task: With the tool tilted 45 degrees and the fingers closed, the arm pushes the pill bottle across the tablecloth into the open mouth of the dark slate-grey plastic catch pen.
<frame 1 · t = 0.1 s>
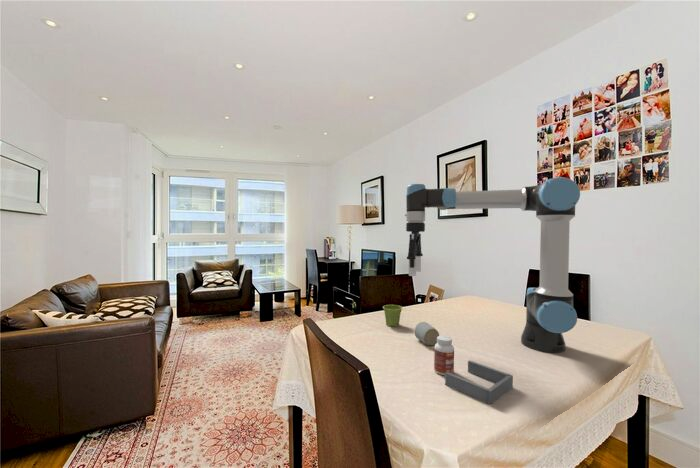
hand: (415, 273, 128), 28 cm above the table, tool pointing down, fingers open, 13 cm apart
plant pot: (392, 325, 149), on the table
ceramic mug: (429, 343, 126), on the table
catch pen: (477, 385, 92), on the table
pill bottle: (443, 372, 101), on the table
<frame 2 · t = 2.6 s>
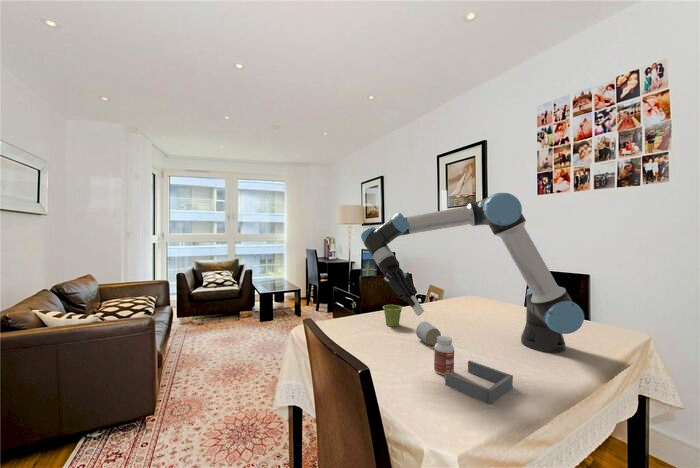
hand: (420, 313, 107), 17 cm above the table, tool tilted 45°, fingers closed
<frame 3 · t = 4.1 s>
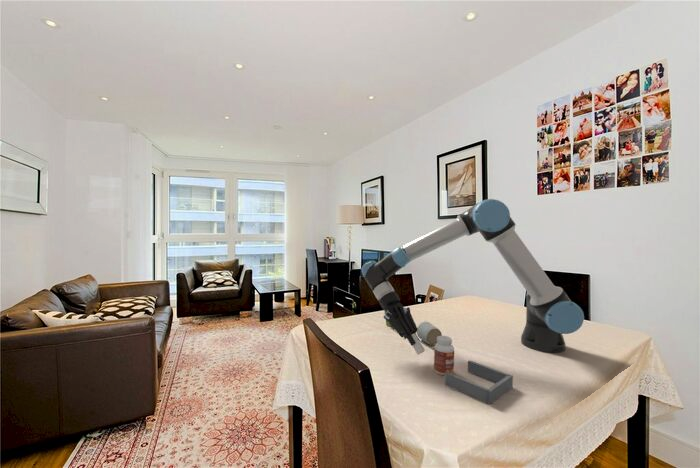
hand: (421, 352, 107), 4 cm above the table, tool tilted 45°, fingers closed
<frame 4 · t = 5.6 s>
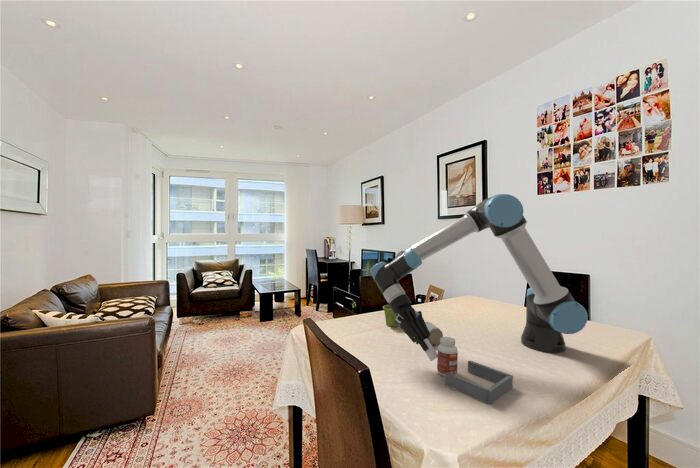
hand: (434, 358, 102), 4 cm above the table, tool tilted 45°, fingers closed
pill bottle: (447, 373, 100), on the table, touching gripper
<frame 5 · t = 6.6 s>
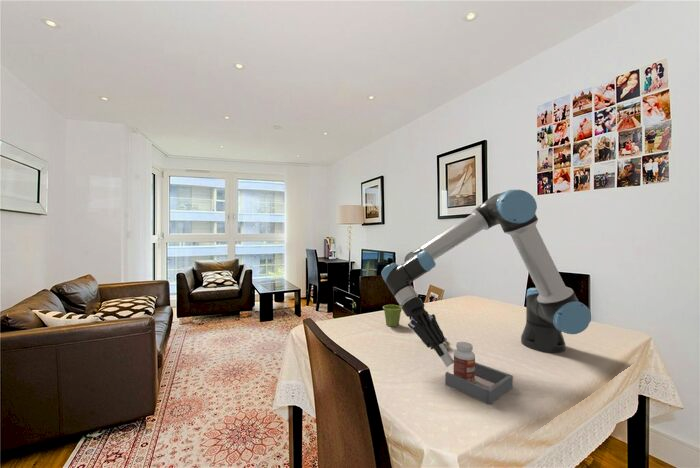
hand: (450, 364, 98), 4 cm above the table, tool tilted 45°, fingers closed
pill bottle: (463, 380, 95), on the table, touching gripper
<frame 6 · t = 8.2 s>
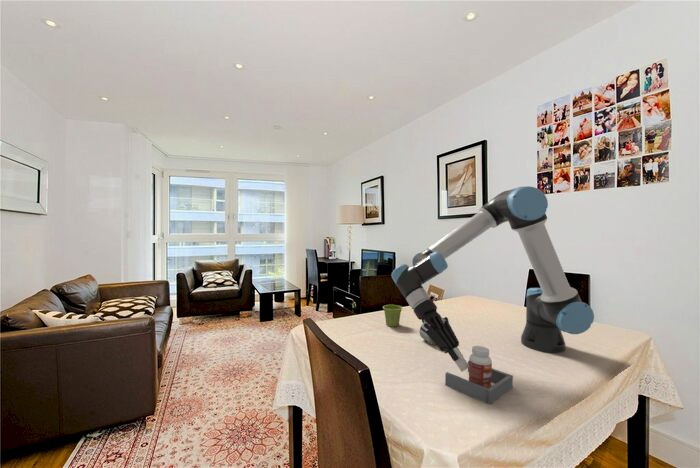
hand: (465, 369, 95), 4 cm above the table, tool tilted 45°, fingers closed
pill bottle: (479, 386, 92), on the table, touching gripper
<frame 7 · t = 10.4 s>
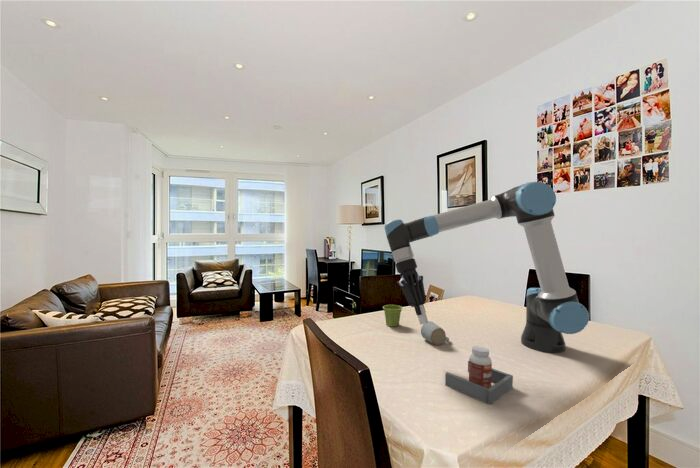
hand: (424, 323, 111), 13 cm above the table, tool tilted 20°, fingers closed
pill bottle: (479, 386, 92), on the table
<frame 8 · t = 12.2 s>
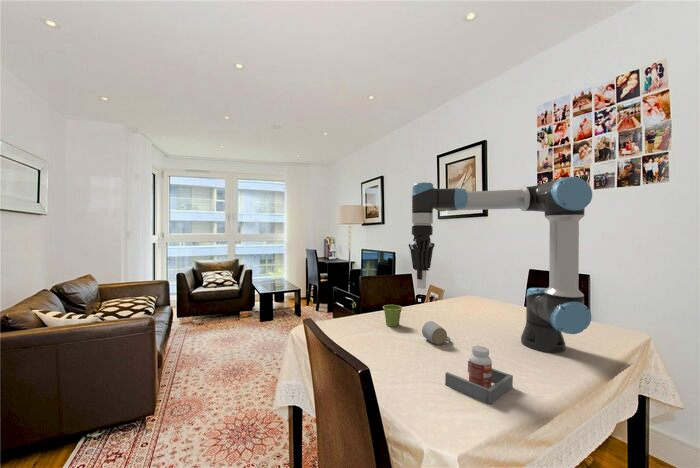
hand: (421, 287, 115), 24 cm above the table, tool pointing down, fingers closed
at the end: pill bottle 0.6 cm from the catch pen (horizontally); pill bottle moved 11.9 cm from its start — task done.
